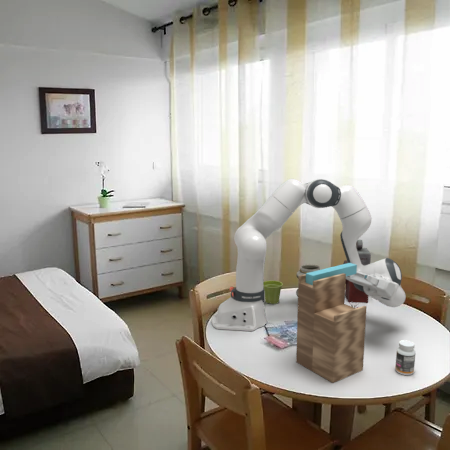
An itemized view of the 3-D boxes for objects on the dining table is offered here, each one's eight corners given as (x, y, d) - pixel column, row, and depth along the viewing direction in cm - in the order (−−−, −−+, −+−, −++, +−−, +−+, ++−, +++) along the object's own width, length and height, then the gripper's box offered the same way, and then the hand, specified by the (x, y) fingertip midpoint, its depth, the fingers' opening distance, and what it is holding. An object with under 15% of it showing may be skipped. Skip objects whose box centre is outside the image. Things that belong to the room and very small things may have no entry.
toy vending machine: (340, 295, 224) (342, 237, 219) (364, 296, 223) (367, 237, 218) (342, 302, 216) (345, 241, 210) (368, 302, 214) (371, 242, 209)
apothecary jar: (290, 303, 215) (291, 264, 211) (312, 298, 220) (313, 261, 216) (306, 312, 204) (307, 272, 200) (328, 307, 209) (330, 268, 206)
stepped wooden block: (332, 383, 148) (337, 289, 142) (296, 362, 161) (298, 275, 155) (362, 370, 156) (368, 281, 149) (325, 351, 169) (328, 268, 163)
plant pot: (268, 307, 210) (269, 288, 208) (257, 300, 218) (257, 282, 217) (286, 303, 214) (286, 285, 213) (274, 297, 223) (275, 279, 221)
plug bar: (312, 285, 153) (312, 275, 152) (305, 282, 156) (305, 273, 155) (356, 273, 165) (356, 264, 164) (349, 271, 167) (349, 262, 167)
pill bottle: (392, 367, 157) (394, 339, 155) (408, 366, 158) (411, 338, 156) (399, 376, 152) (402, 347, 150) (417, 375, 152) (419, 346, 150)
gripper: (356, 271, 184) (336, 258, 176) (403, 285, 167) (382, 272, 159) (350, 286, 183) (329, 274, 175) (396, 302, 167) (375, 289, 159)
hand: (355, 273), depth 167 cm, fingers open, 8 cm apart
